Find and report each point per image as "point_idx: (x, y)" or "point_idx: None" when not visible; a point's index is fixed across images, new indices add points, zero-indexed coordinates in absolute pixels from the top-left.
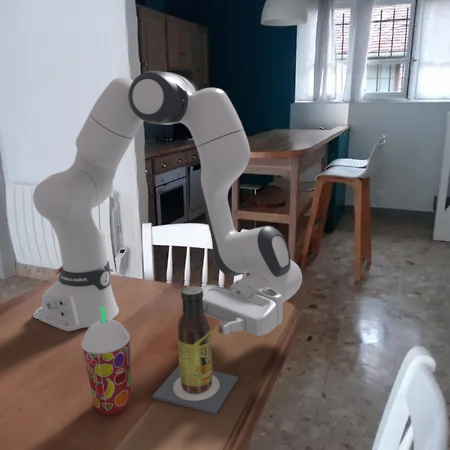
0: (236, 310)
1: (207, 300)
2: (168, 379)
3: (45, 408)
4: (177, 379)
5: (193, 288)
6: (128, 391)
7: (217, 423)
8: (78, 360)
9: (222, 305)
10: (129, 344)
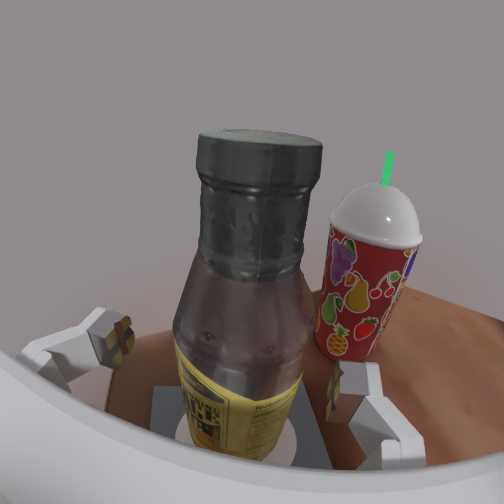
0: (37, 386)
1: (330, 476)
2: (315, 429)
3: (401, 308)
4: (294, 436)
5: (266, 134)
6: (320, 324)
7: (145, 372)
8: (486, 374)
9: (147, 442)
10: (346, 247)
